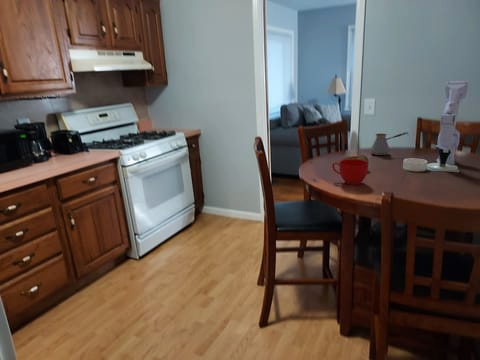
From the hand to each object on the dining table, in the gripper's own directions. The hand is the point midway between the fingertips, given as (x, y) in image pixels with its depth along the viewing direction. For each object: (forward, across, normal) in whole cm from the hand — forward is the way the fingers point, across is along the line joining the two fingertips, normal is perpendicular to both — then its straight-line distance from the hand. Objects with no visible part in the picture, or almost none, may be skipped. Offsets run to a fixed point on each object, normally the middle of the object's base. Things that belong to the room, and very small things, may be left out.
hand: (442, 163), depth 177 cm
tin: (+3, +16, -42) cm, 45 cm away
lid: (+2, 0, 0) cm, 2 cm away
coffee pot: (+3, -26, -27) cm, 38 cm away
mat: (+3, 0, 0) cm, 3 cm away
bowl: (+3, +5, -13) cm, 14 cm away
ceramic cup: (+3, +38, -42) cm, 57 cm away
